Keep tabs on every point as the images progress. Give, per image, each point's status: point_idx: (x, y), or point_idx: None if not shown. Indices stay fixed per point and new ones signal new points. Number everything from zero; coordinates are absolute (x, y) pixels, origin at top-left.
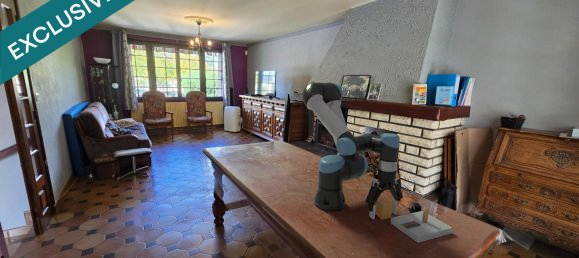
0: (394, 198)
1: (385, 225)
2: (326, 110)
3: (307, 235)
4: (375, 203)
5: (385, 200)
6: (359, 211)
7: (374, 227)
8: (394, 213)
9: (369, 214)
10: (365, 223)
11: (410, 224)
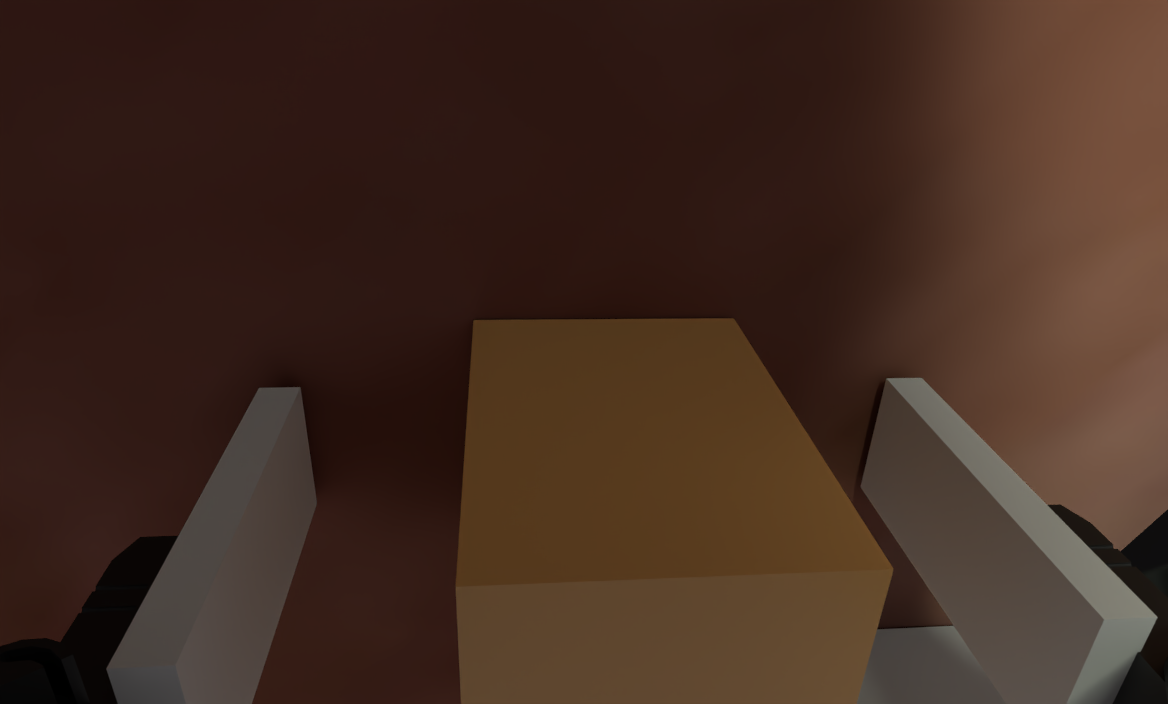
0: (1154, 673)
1: (405, 669)
2: None
3: None
4: (462, 488)
5: (757, 700)
6: (138, 79)
7: None
8: (871, 478)
9: (246, 420)
10: (42, 547)
11: None
